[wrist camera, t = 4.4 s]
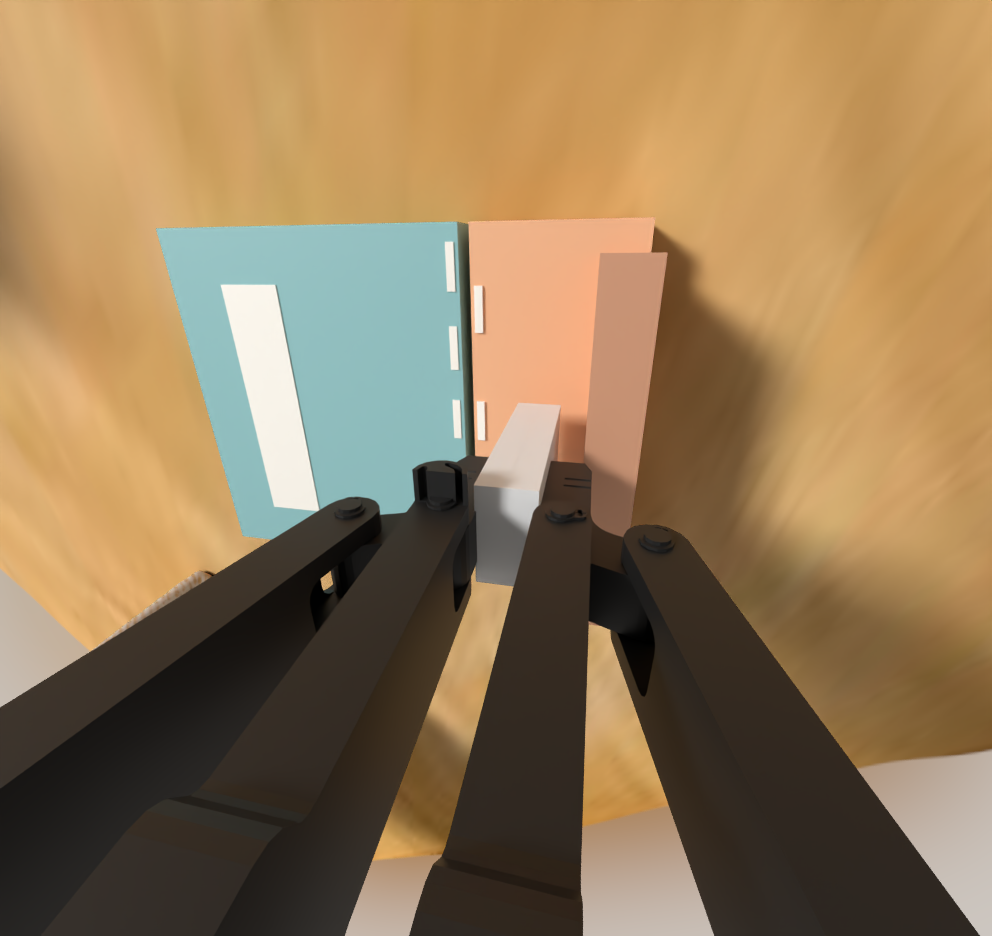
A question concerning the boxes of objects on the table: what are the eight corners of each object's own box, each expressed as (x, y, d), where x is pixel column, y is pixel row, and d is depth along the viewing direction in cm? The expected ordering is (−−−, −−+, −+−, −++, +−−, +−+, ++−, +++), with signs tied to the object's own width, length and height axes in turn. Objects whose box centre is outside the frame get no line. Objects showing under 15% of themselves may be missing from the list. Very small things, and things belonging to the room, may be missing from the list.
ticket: (196, 230, 19) (154, 228, 18) (471, 225, 17) (456, 221, 15) (267, 516, 25) (242, 536, 24) (479, 539, 23) (469, 563, 21)
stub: (480, 224, 17) (429, 211, 12) (649, 220, 16) (674, 205, 11) (486, 542, 23) (454, 625, 18) (610, 555, 22) (613, 649, 17)
